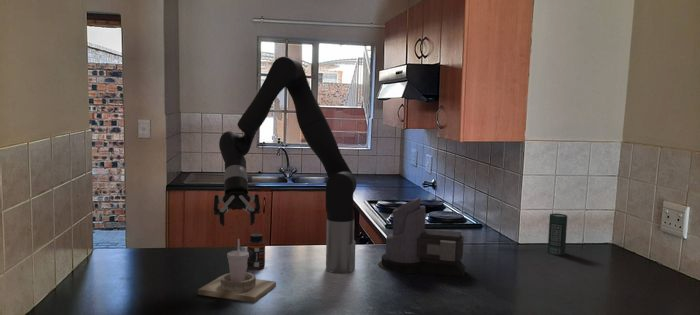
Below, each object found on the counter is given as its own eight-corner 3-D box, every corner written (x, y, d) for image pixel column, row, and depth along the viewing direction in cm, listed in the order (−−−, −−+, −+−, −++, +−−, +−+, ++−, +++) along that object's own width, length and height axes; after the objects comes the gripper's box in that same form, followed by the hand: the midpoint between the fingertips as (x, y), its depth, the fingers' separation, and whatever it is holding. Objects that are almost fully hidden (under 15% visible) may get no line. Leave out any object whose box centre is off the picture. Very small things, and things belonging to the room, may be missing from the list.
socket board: (275, 286, 161) (276, 273, 160) (255, 302, 147) (255, 288, 147) (222, 279, 166) (222, 267, 165) (198, 294, 152) (198, 281, 152)
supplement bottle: (261, 271, 175) (261, 237, 174) (244, 269, 177) (244, 236, 176) (267, 265, 181) (267, 233, 180) (251, 264, 182) (251, 232, 181)
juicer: (373, 269, 180) (375, 198, 178) (383, 257, 196) (385, 191, 193) (463, 279, 172) (467, 204, 170) (466, 265, 188) (469, 197, 186)
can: (566, 252, 208) (568, 214, 206) (562, 255, 203) (565, 217, 201) (549, 249, 211) (552, 212, 210) (546, 253, 206) (548, 215, 205)
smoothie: (229, 290, 152) (230, 242, 151) (224, 283, 158) (224, 237, 157) (251, 287, 155) (251, 240, 154) (245, 280, 161) (245, 235, 160)
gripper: (213, 175, 169) (213, 218, 159) (258, 175, 172) (261, 216, 162) (213, 189, 174) (213, 231, 164) (257, 188, 178) (260, 230, 168)
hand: (237, 224), depth 163 cm, fingers open, 8 cm apart
